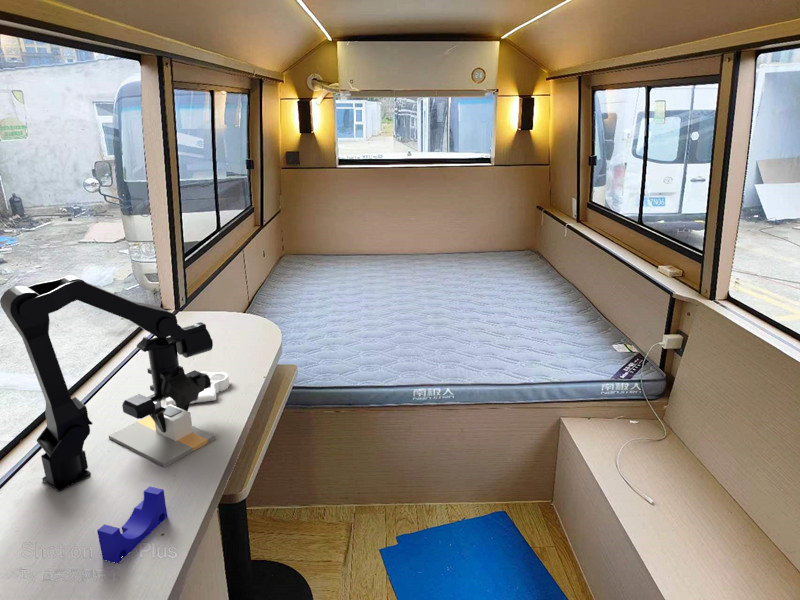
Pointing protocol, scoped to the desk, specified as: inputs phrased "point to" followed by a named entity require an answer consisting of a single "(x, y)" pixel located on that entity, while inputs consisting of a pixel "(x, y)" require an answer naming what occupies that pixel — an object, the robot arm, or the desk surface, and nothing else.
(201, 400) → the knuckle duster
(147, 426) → the grey flat board
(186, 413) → the white block
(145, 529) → the blue cradle bracket
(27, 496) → the desk surface
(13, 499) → the desk surface
